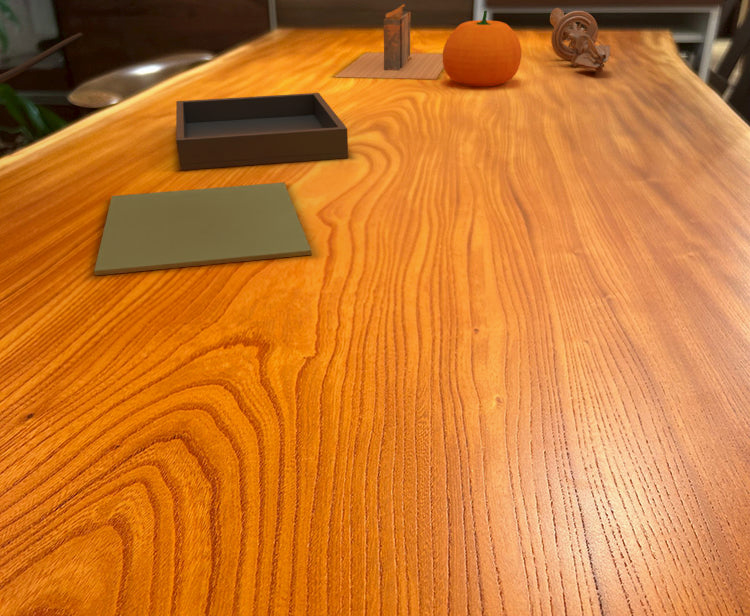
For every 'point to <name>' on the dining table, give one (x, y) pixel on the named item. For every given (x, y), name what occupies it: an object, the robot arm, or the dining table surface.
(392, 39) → the ruin model on sheet
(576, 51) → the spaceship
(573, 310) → the dining table surface
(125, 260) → the mat
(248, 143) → the tray
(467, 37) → the fruit
